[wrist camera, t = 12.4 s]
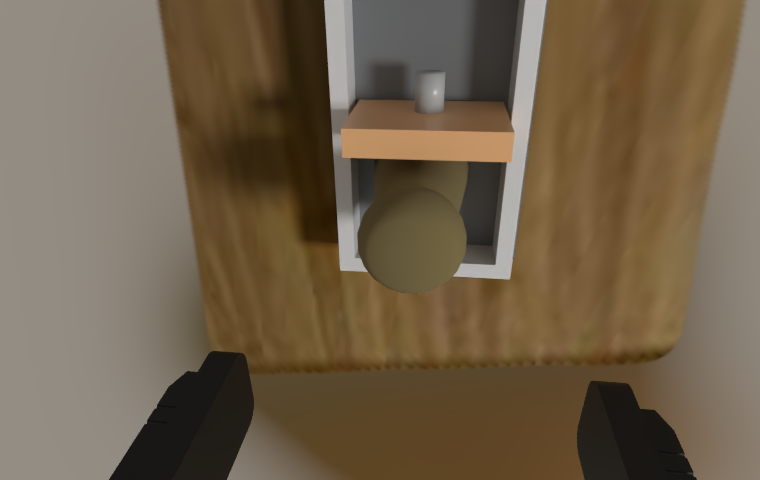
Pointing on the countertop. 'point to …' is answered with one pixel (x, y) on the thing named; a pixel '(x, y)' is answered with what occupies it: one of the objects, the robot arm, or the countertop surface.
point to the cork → (414, 224)
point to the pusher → (429, 127)
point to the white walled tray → (462, 83)
